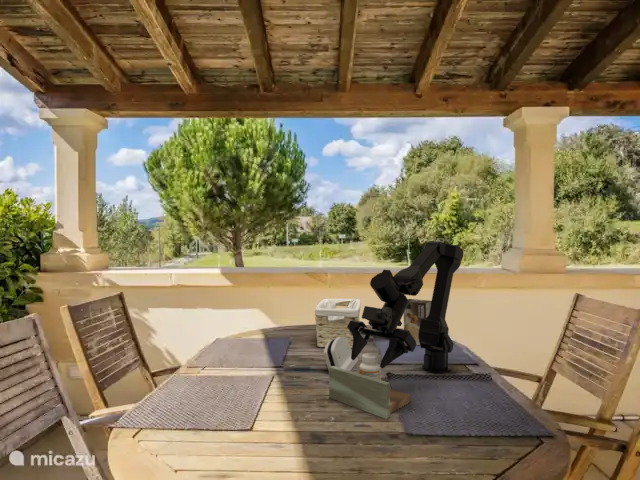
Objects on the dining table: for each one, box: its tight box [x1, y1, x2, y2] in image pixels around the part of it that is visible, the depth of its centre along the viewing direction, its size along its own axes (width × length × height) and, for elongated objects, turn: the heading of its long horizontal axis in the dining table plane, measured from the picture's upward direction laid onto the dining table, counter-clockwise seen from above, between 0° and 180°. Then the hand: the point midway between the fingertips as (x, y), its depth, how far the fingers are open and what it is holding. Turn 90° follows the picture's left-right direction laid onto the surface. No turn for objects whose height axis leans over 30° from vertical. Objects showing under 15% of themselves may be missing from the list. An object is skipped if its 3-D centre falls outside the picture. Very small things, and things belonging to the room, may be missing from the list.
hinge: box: [323, 337, 359, 371], centre depth 139 cm, size 17×5×10 cm, turn 162°
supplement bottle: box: [358, 352, 382, 380], centre depth 111 cm, size 5×5×10 cm
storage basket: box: [314, 298, 362, 349], centre depth 169 cm, size 24×16×15 cm
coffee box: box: [403, 298, 432, 346], centre depth 164 cm, size 9×6×16 cm
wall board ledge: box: [328, 366, 411, 420], centre depth 112 cm, size 12×18×8 cm, turn 46°
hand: (366, 363), depth 110 cm, fingers open, 9 cm apart
